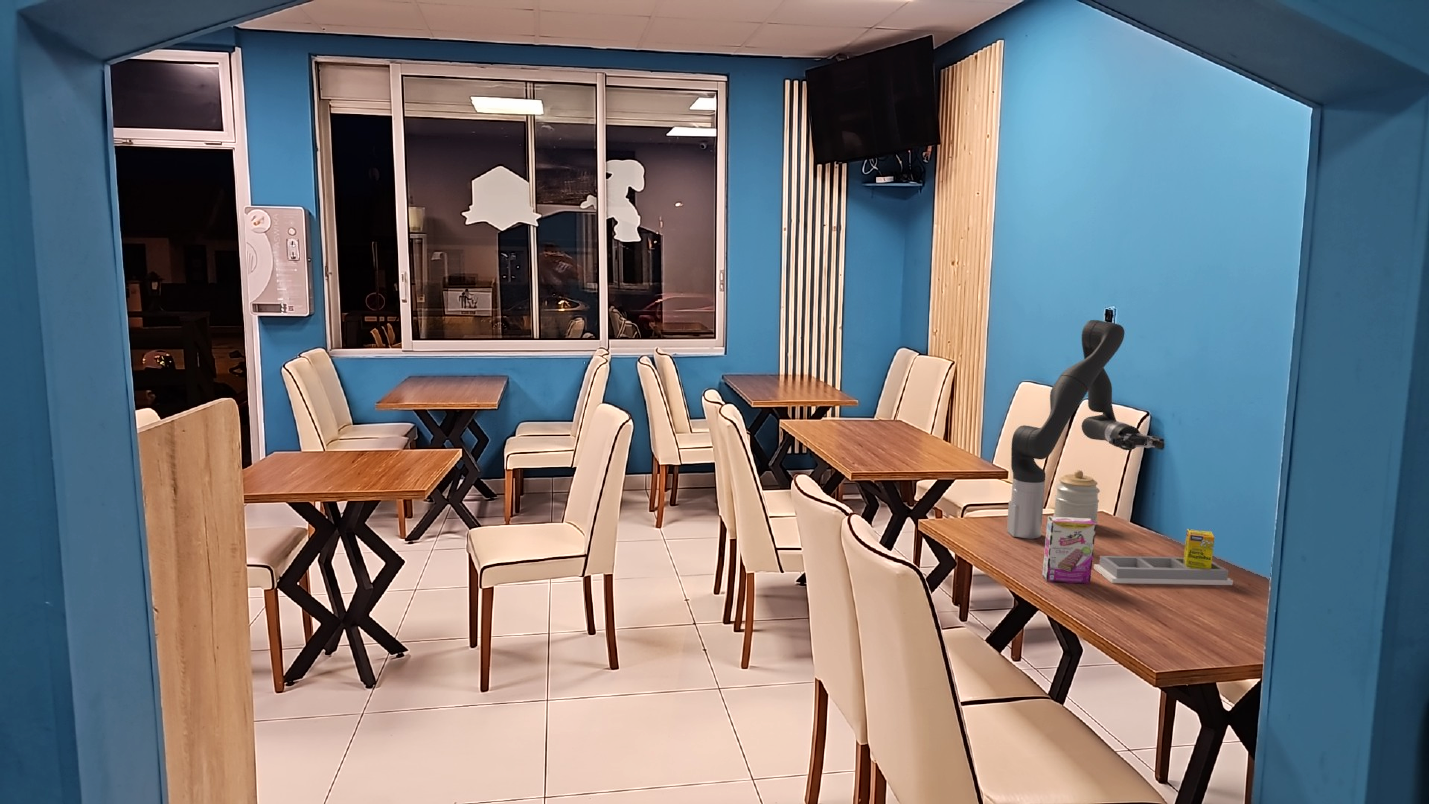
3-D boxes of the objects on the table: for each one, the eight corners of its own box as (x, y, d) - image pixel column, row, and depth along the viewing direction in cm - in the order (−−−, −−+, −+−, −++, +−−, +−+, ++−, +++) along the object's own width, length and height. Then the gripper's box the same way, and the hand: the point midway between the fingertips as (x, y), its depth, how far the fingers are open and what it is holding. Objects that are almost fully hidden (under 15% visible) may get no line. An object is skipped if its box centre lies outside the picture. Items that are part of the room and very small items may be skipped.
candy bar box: (1046, 582, 230) (1051, 521, 228) (1041, 575, 235) (1046, 515, 233) (1091, 584, 229) (1096, 522, 227) (1085, 578, 234) (1090, 517, 232)
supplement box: (1185, 574, 234) (1189, 534, 233) (1182, 567, 240) (1186, 528, 238) (1210, 577, 232) (1215, 537, 231) (1207, 570, 238) (1211, 531, 236)
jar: (1092, 533, 275) (1097, 477, 272) (1048, 525, 282) (1053, 471, 279) (1099, 523, 286) (1104, 469, 283) (1057, 516, 292) (1061, 463, 290)
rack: (1112, 583, 231) (1113, 569, 230) (1093, 568, 242) (1094, 555, 241) (1232, 585, 231) (1234, 571, 230) (1208, 570, 242) (1210, 557, 241)
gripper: (1100, 423, 273) (1124, 432, 257) (1146, 423, 273) (1173, 433, 257) (1098, 447, 274) (1122, 458, 258) (1144, 448, 274) (1171, 459, 258)
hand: (1147, 446), depth 257 cm, fingers open, 8 cm apart
